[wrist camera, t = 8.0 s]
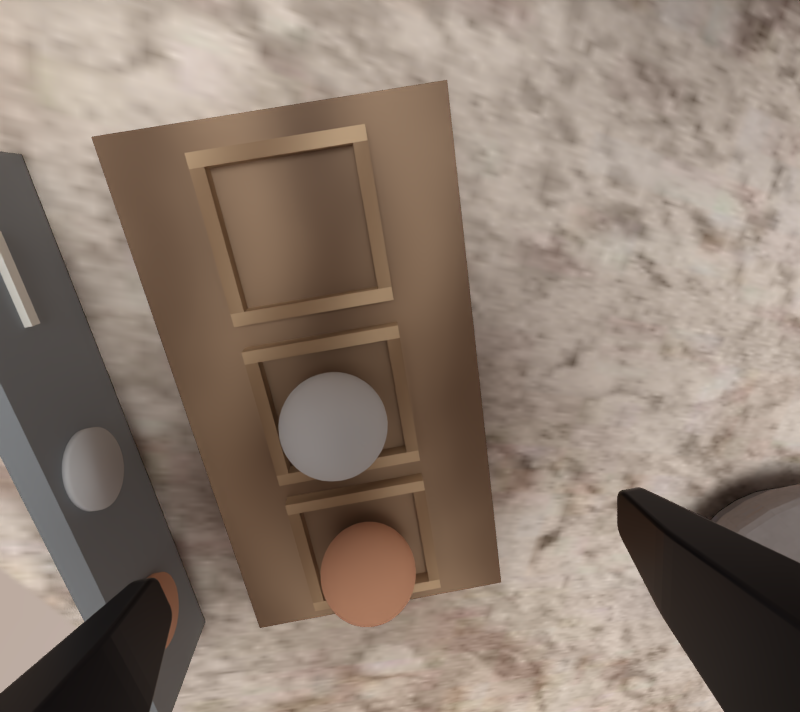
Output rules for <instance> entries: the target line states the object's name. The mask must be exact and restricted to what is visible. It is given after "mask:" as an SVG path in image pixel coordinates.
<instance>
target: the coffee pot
mask: <svg viewBox="0 0 800 712" xmlns="http://www.w3.org/2000/svg"><path fill="white" fill-rule="evenodd" d="M711 521H713V522H715V523H717V524H720V525H722V526H724V527H726V528H728V529H730V530H732V531H734V532H736V533H739V534H741V535H743V536H745V537H747V538H749V539H751V540H753V541H755V542H758V543H760V544H762V545H764V546H766V547H768V548H770V549H772V550H774V551H777V552H779V553H781V554H783V555H785V556H787V557H789V558H791V559H793V560H796V561H798V562H800V484H798V485H792V486H787V487H782V488H773V489H768V490H764V491H759V492H754V493H752V494H750V495H747V496H745V497H743V498H740V499H738V500H736V501H734V502H733V503H731V504H730V505H728V506H727V507H725V508H724V509H722V510H721V511H720V512H718V513H717V514H716V515H715V516H714V517H713V518H712V519H711Z"/></svg>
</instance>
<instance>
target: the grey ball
mask: <svg viewBox="0 0 800 712" xmlns="http://www.w3.org/2000/svg"><path fill="white" fill-rule="evenodd" d="M387 427H388V421H387V415H386V411H385V407H384V405H383V402H382V400H381V399H380V397H379V396H378V394H377V393H376V392H375V390H374V389H373V388H372V387H371V386H370V385H369V384H367V383H366V382H365V381H363V380H361V379H360V378H358V377H356V376H353V375H350V374H347V373H341V372H328V373H322V374H318V375H315V376H313V377H310V378H308V379H306V380H305V381H303V382H302V383H300V384H299V385H298V386H297V387H296V388H295V389H294V390H293V391H292V392H291V393H290V395H289V396H288V398H287V399H286V401H285V403H284V405H283V407H282V409H281V413H280V417H279V424H278V429H279V439H280V443H281V446H282V448H283V451H284V453H285V455H286V457H287V458H288V459H289V461H290V462H291V463H292V464H293V465H294V466H295V467H296V468H297V469H298V470H299V471H301V472H302V473H304V474H305V475H307V476H309V477H312V478H315V479H318V480H322V481H342V480H346V479H350V478H352V477H355V476H357V475H359V474H360V473H362V472H363V471H365V470H366V469H367V468H368V467H370V466H371V465H372V464H373V463H374V461H375V460H376V459H377V457H378V456H379V454H380V453H381V451H382V449H383V447H384V444H385V441H386V437H387Z"/></svg>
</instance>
